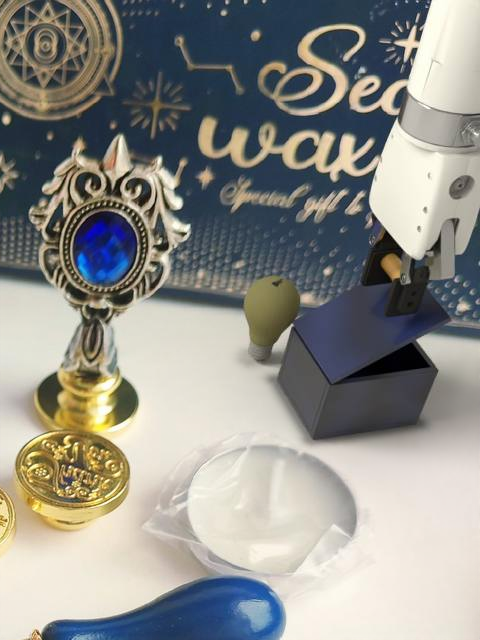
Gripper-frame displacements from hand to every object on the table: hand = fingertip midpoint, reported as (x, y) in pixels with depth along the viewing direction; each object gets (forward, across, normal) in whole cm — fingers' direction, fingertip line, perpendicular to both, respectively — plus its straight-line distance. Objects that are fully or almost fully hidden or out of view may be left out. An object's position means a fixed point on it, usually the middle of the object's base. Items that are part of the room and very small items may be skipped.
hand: (388, 296), depth 101 cm
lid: (+3, 0, +1) cm, 3 cm away
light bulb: (+13, +8, +7) cm, 17 cm away
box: (+13, 0, +1) cm, 13 cm away
